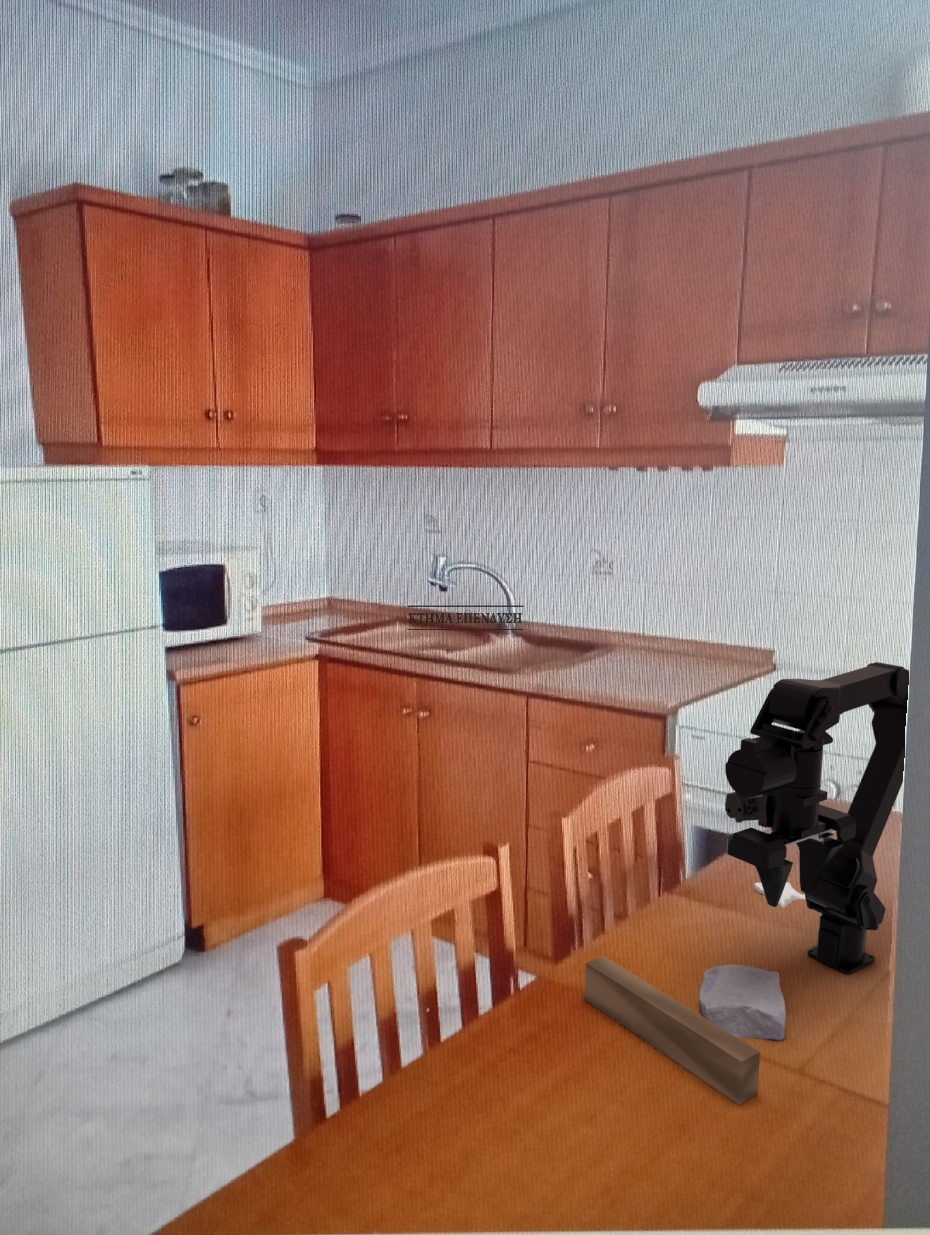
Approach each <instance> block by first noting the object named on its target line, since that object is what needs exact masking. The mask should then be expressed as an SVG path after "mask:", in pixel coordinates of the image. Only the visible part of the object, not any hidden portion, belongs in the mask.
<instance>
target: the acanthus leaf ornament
mask: <svg viewBox="0 0 930 1235" xmlns="http://www.w3.org/2000/svg"><path fill="white" fill-rule="evenodd" d="M754 889H755V891H756V892H757V893H758V894H761V895H763V896H765V893H764V890H763V887H762V883H761V881H760V882H755V883H754ZM795 900H805V901H806V898H805V893H804V894H802V893H799V892H798V891H797V890H796V889H794V887H793V886H792V885H791V883H790V882H786V884H785V887H784V890H783V893H782V895H781V898H780V900H779V903H778V905H777V906H779V907H781V908H782V909H786V907H788V905H790V904H791V903H792V902H793V901H795Z"/></svg>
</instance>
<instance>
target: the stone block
mask: <svg viewBox="0 0 930 1235" xmlns="http://www.w3.org/2000/svg"><path fill="white" fill-rule="evenodd" d="M703 978H704V979H703V981H702V984H701V986H700V991H699V999H698V1000H699V1003H700V1009H701V1014H702V1015H701V1016H703V1017H704V1018H706V1019H708V1020H709V1021H711V1022H712V1023H714V1024H716V1025H717V1026H719V1027H721V1028H722V1029H724V1030H726V1031H727V1032H729V1033H730V1034H732V1035H734V1036H735V1037H737V1038H746V1039H748V1038H755V1039H760V1040H773V1041H774V1040H775V1041H779V1042H780V1041H783V1040H784V1039H785V1036H786V1033H785V1032H786V1030H785V1029H786V1022H787V1019H786V1018H787V1017H786V1016H787V1015H786V1014H787V1013H786V1012H787V1011H786V1003H785V999H784V993H782V990H781V983H780V982H781V981H780V975H779V972H777V971H769V970H766V969H762V968H760V967H759V968H758V967H753V966H750V965H743V964H735V963H734V964H733V963H732V964H726V965H725V964H724V965H715V966H714V967H712V968H711V967H710V968H709V969H707V970H706V971H705V972H704V975H703Z"/></svg>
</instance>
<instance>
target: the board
mask: <svg viewBox="0 0 930 1235" xmlns="http://www.w3.org/2000/svg"><path fill="white" fill-rule="evenodd" d="M584 980H585V983H584V985H585V986H584V989H585V990H584V1001H586V1002H587V1003H589V1004H590V1005H592V1006H593V1007H595V1008H596V1009H597V1010H599V1011H601V1012H602V1013H603V1014H605V1015H606V1016H607V1017H609V1018H611V1019H612V1020H614V1021H615V1022H617V1023H618V1024H620V1026H623V1027H624V1028H625V1029H627V1030H628V1031H629V1032H630V1033H633V1034H635V1035H636V1036H637V1037H638V1038H640V1039H641V1040H643V1041H644V1042H646V1043H647V1044H649V1045H651V1046H652V1047H653V1048H655V1049H656V1050H658V1052H661V1053H663V1055H665V1056H666V1057H667V1058H670V1059H671V1060H673V1061H674V1062H676V1064H678V1065H680V1066H681V1067H683V1068H684V1069H686V1070H687V1071H688V1072H690V1073H691V1074H692V1075H693V1076H696V1077H697V1078H699V1079H700V1080H702V1081H703V1082H705V1083H706V1084H707V1085H709V1086H710V1087H712V1088H713V1089H715V1090H716V1091H717V1092H719V1093H720V1094H722V1095H723V1096H725V1097H727V1099H729V1100H731V1101H732V1102H734V1103H735V1104H737V1105H738V1106H740V1105H743V1104H744V1103H745V1102H746V1103H747V1101H749V1100H751V1099H752V1098H754V1097H756V1096H758V1094H759V1091H758V1090H759V1079H760V1078H759V1077H760V1061H761V1060H760V1059H761V1051H760V1050H758V1049H757V1048H755V1047H754V1046H751V1045H750V1044H749V1043H747V1042H745V1041H743V1040H742V1039H740V1037H735V1036H734V1035H732V1034H730V1033H729V1032H727V1031H726V1030H724V1029H722V1028H721V1027H719V1026H717V1025H716V1024H714V1023H712V1022H711V1021H709V1020H708V1019H706V1018H704V1017H703V1015H701V1014H700V1013H697V1012H696V1011H694V1010H693V1009H692V1008H690V1007H688V1006H686V1005H685V1004H683V1003H681V1002H680V1001H678V1000H676V999H675V998H673V997H671V996H670V995H668V994H667V993H665V992H663V991H662V990H661V989H658V988H657V987H655V986H653V985H652V984H650V983H649V982H647V981H645V980H644V979H642V978H641V977H639V976H637V975H635V974H634V973H632V972H630V971H629V970H628V969H626V968H624V967H622V965H619V964H618V963H616V962H614V961H613V960H611V959H609V958H608V957H606V956H605V955H603V956H600V957H597V958H595V959H592V960H589V961H587V962H585V978H584Z"/></svg>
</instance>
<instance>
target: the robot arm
mask: <svg viewBox="0 0 930 1235" xmlns="http://www.w3.org/2000/svg"><path fill="white" fill-rule="evenodd" d="M909 671H910V670H909V669H907V668H905V667H903V666H902V665H901V666H900V665H897V664H896V665H895V664H889V663H885V662H880V661H875V662H870V663H868V664H867V666H865V667H861V668H860V667H859V668H858V669H857V668H856V669H854V670H851V671H848V672H844V673H841V674H838V675H834V676H830V677H827V678H823V679H807V678H805V679H804V678H782V679H780V680H778V681H776V682H775V683H774V684H773V685H772V686H773V687H772V688H771V689H770V690H769V692H768V694H767V696H766V698H765V700H764V702H763V704H762V706H761V708H760V710H759V712H758V714H757V715H756V718H755V719H754V722H753V724H752V726H751V728H750V731H749V734H750V735H754V736H757V737H754V738H751V737H748V738H743V739H741V741H740V748H739V749H738V750H737V749H736V750H734V751H733V752H732V753H731V754H730V756H728V759H727V761H726V763H725V768H724V769H725V771H724V772H725V776H726V780H727V783H728V784H729V786H730V788H731V789H732V790H733V792H729V793H727V794H726V797H725V804H724V811H725V813H726V816H727V817H728V818H730V819H734V822H735V823H742V822H746V821H749V822H751V821H757V825H758V826H760V827H762V828H769V829H770V833H767V832H765V831H762V830H759V829H756V828H754V827H749V828H745V829H741V830H739V831H735V832H733V833H732V834H731V835H729V836H728V837H727V839H726V843H727V844H726V854H727V855H728V856H731V857H733V858H735V859H737V860H740V861H743V862H745V863H747V864H750V865H751V866H754V867H755V869H756V872H757V874H758V876H759V880H760V882H761V883H762V887H763V890H764V893H765V895H764V896H765V899H766V903H767V904H768V906H770V907H772V908H776V907H777V906H779V905H778V903H779V900H780V898H781V895H782V893H783V890H784V887H785V884H786V882H787V881H788V878H789V875H790V873H791V870H792V867H793V866H794V862H793V861H791V860H788V859H786V858H787V855H788V854H787V853H788V852H787V850H788V848H787V847H789V846H792V845H797V847H798V852H799V853H798V854H799V856H798V859H799V885H800V886H799V887H800V892H802V893H804V894H805V898H806V900H805V902H806V907H807V909H809V910H812V911H815V912H816V913H817V912H818V913H819V914H821V915H820V916H819V923H818V924H819V926H818V930H817V945H816V946H814V947H812V948H810V949H808V950H807V953H806V954H807V955H808V956H810V957H812V958H813V959H815V960H818V961H820V962H821V963H824V964H826V965H828V966H831V967H832V968H834V969H836V970H838V971H840V972H843V973H845V974H852V973H854V972H856V971H858V970H860V969H862V968H864V967H866V966H869V965H871V963H874V962H875V961H876V956H874V955H872V954H870V953H868V952H866V944H867V931H879V926H880V925H881V924H882V923H883V920H884V919H885V914H886V913H885V912H886V907H885V905H884V904H883V902H882V901H881V900H880V898H879V897H878V896H877V895H876V893H875V889H876V887H877V883H878V876H877V872H876V866H875V860H874V854H875V851H876V849H877V847H878V845H879V842H880V840H881V837H882V834H883V832H884V830H885V827H886V825H887V822H888V820H889V817H890V816H891V813H892V809H893V807H894V804H895V803H896V800H897V798H898V795H899V792H900V790H901V788H902V785H903V783H904V781H903V771H904V758H905V726H906V713H907V700H908V685H909ZM867 705H868V707H869V708H870V709H871V711H872V712H873V716H872V720H871V727H872V728H871V729H872V732H873V737H874V741H875V746H874V748H873V750H872V753H871V755H870V758H869V760H868V762H867V764H866V767H865V770H864V772H863V774H862V776H861V778H860V781H859V784H858V786H857V789H856V790H855V794H854V796H853V798H852V801H851V804H850V806H849V808H848V811H847V812H844V811H841V810H839V809H835V808H832V807H829V806H826V805H823V804H820V803H821V802H824V801H827V800H828V794H829V793H828V791H827V790H823V789H821V786H822V772H823V770H822V769H823V756H824V755H823V754H824V746H826V745H829V744H832V743H833V742H834V738H833V737H832V736H831V735H830V734H829V733H828V732H827V731H828V730H829V729H832V728H833V727H834V726H837V724H839V723H840V718H841V715H842V714H844V713H846V712H849V711H852V710H855V709H858V708H861V707H864V706H867ZM773 723H774V724H777V725H774V724H773ZM779 725H781V726H779ZM784 726H785V727H784ZM786 727H789V728H786ZM790 728H792V729H790ZM795 729H797V730H795ZM833 831H835V833H836V835H835V834H834V833H833ZM834 836H836V838H835V837H834Z"/></svg>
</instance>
